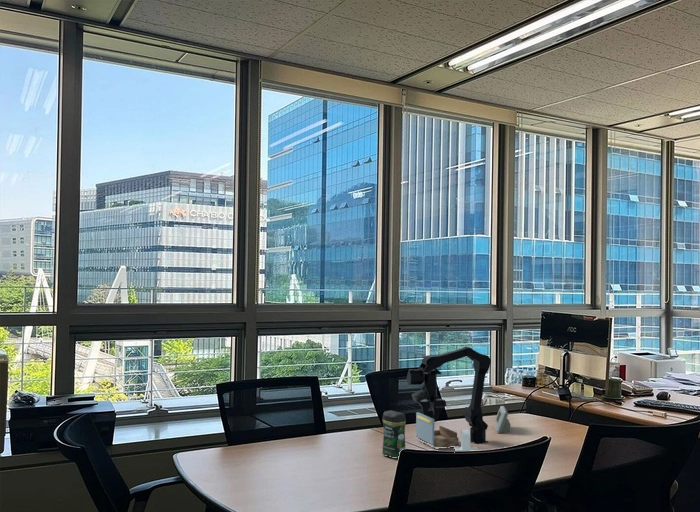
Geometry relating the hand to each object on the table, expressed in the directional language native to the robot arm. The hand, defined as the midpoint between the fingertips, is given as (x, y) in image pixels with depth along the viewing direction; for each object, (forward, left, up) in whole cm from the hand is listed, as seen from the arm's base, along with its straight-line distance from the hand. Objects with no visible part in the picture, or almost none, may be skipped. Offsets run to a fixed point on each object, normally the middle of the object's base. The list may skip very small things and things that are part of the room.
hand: (430, 419), depth 274 cm
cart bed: (-4, 0, -11) cm, 12 cm away
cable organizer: (-8, +17, -11) cm, 22 cm away
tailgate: (+2, 0, -9) cm, 9 cm away
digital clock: (-46, -12, -11) cm, 49 cm away
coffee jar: (+23, +11, -11) cm, 28 cm away
